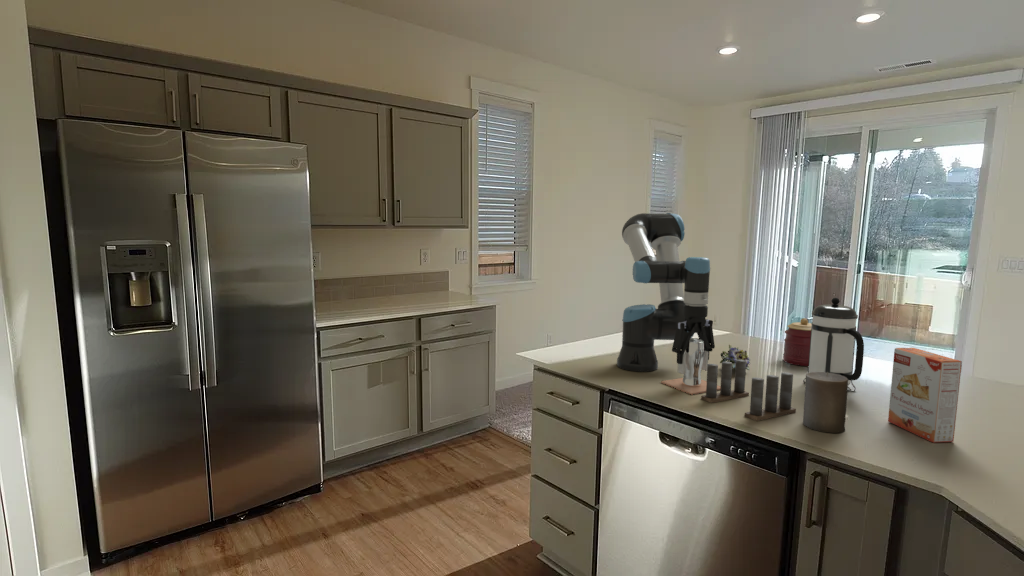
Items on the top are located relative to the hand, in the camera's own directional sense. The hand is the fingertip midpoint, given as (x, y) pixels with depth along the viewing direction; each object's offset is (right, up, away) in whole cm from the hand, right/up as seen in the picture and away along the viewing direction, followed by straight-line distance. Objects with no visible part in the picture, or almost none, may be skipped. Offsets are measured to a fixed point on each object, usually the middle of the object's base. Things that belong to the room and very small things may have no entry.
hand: (692, 371), depth 171 cm
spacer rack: (+10, -7, -18) cm, 22 cm away
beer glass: (0, -5, +1) cm, 5 cm away
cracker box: (+46, -10, -37) cm, 60 cm away
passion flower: (+21, -3, +18) cm, 28 cm away
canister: (+54, -2, +31) cm, 62 cm away
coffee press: (+46, -6, -1) cm, 46 cm away
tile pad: (0, -5, +1) cm, 5 cm away
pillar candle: (+23, -9, -34) cm, 42 cm away
